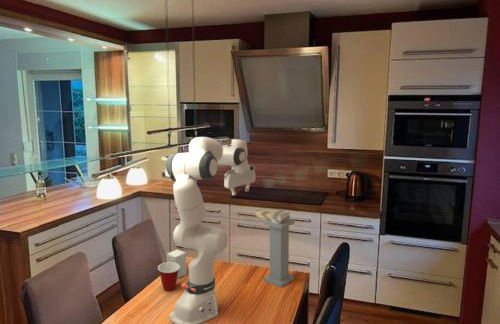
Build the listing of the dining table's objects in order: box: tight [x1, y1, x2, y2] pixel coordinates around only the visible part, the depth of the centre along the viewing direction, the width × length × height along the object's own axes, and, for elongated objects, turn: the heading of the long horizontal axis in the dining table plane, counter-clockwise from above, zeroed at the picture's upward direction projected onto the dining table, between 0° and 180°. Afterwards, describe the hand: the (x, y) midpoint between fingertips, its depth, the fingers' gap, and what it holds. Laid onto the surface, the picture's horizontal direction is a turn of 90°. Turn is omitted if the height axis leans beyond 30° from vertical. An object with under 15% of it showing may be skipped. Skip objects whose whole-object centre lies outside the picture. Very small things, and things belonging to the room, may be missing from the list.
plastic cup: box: [157, 262, 180, 292], centre depth 182 cm, size 11×11×12 cm
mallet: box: [254, 208, 291, 224], centre depth 189 cm, size 18×8×5 cm, turn 50°
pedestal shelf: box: [263, 218, 296, 288], centre depth 189 cm, size 12×11×32 cm
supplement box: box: [166, 249, 188, 280], centre depth 197 cm, size 7×7×13 cm
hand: (240, 193), depth 199 cm, fingers open, 8 cm apart
